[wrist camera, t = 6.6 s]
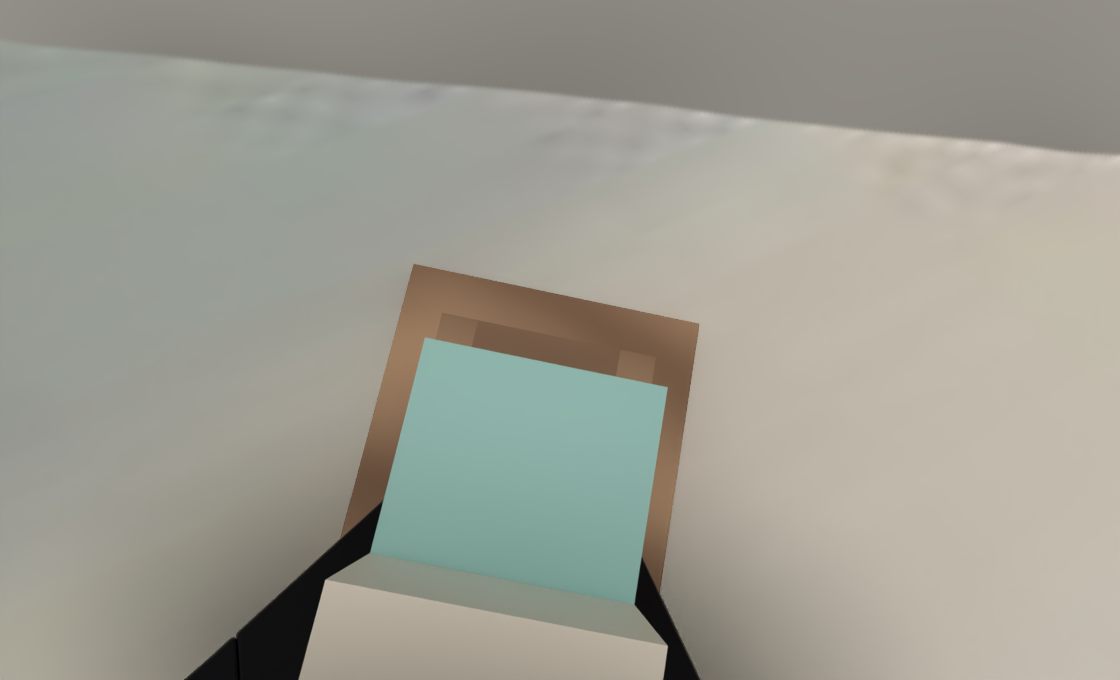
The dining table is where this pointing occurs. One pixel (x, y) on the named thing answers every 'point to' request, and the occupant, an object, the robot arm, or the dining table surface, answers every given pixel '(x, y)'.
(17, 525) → the dining table surface
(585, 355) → the tray
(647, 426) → the teal rectangular box
